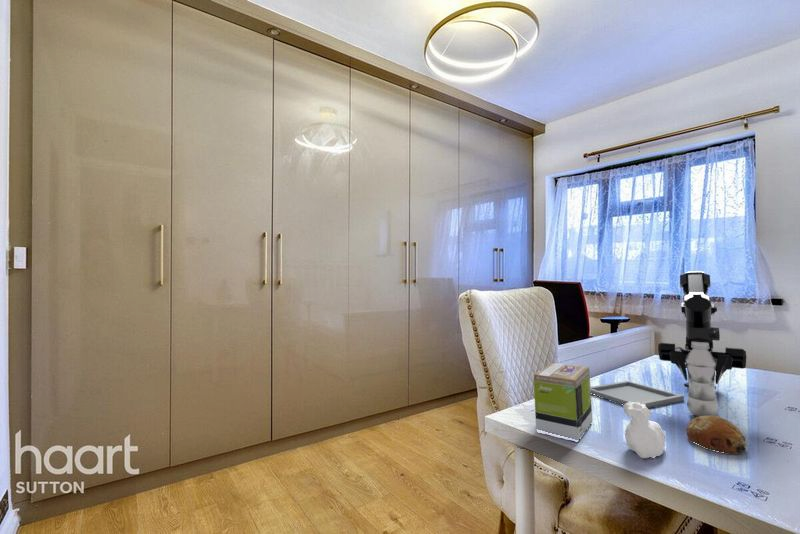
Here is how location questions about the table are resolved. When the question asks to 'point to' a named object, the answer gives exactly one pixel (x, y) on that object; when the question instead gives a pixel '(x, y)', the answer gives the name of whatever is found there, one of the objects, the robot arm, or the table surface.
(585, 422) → the tea box
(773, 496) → the table surface
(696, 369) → the plastic bottle
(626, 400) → the tray
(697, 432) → the bread roll
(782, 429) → the table surface
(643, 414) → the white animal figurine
